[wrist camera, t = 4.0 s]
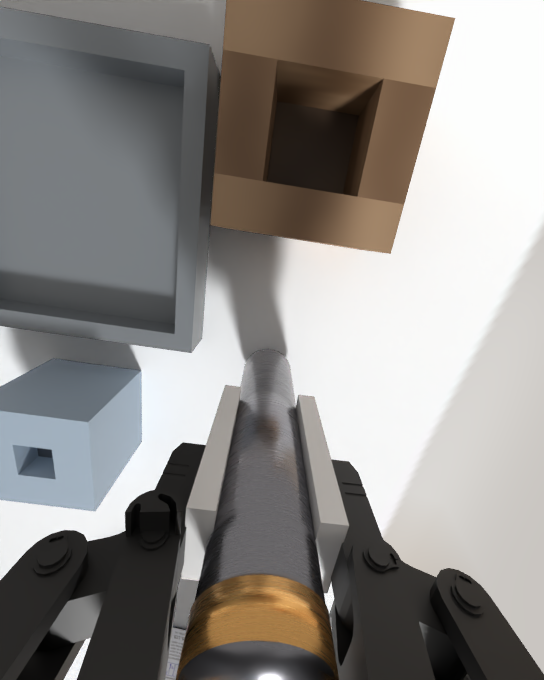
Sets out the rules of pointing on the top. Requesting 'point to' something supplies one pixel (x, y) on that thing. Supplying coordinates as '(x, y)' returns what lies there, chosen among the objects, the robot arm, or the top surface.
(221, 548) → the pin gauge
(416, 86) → the go block
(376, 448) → the top surface
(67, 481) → the block
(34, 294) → the tray
